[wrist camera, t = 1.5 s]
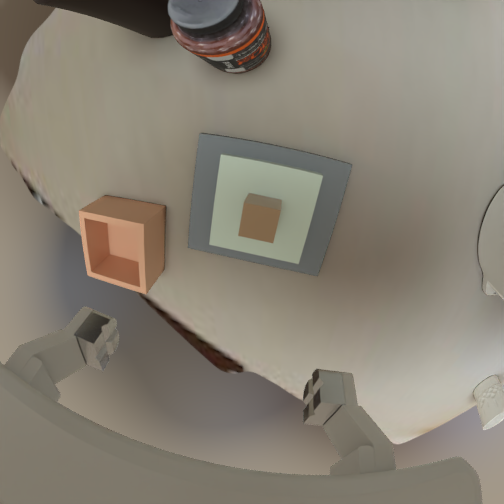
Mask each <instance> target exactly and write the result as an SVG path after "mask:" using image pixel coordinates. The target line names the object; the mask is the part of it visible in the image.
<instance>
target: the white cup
mask: <svg viewBox="0 0 504 504" xmlns="http://www.w3.org/2000/svg"><path fill="white" fill-rule="evenodd" d="M473 394H474V397H475V400H476V405H477V408H478V413H479V416H480V420H481V424H482V428H483V430H486V429H489V428H491V427H493V426H495V425H497V424H498V423H500V422H501V421H502V420H504V388H503V386H502V384H501V383H500V381H499V379H498V377H497V376H496V375H493V376H490V377H488V378H487V379H485V380H484V381H482V382H481V383H480V384H479V385H478V386H477V387H476V388H475V390H474V392H473Z"/></svg>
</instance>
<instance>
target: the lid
mask: <svg viewBox="0 0 504 504" xmlns="http://www.w3.org/2000/svg"><path fill="white" fill-rule="evenodd" d="M322 178H323V175H322V173H318V172H314V171H310V170H306V169H302V168H297V167H293V166H289V165H284V164H280V163H275V162H270V161H265V160H260V159H255V158H250V157H244V156H239V155H233V154H227V153H223V154H221V157H220V164H219V171H218V178H217V185H216V193H215V200H214V208H213V216H212V224H211V233H210V242H209V245H213V246H218V247H223V248H227V249H232V250H236V251H241V252H245V253H250V254H254V255H259V256H264V257H268V258H273V259H277V260H282V261H286V262H291V263H296V264H299V261H300V258H301V254H302V251H303V247H304V244H305V241H306V237H307V234H308V230H309V227H310V223H311V219H312V216H313V212H314V209H315V205H316V201H317V197H318V194H319V190H320V186H321V182H322Z"/></svg>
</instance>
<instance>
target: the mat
mask: <svg viewBox="0 0 504 504" xmlns="http://www.w3.org/2000/svg"><path fill="white" fill-rule="evenodd" d="M223 153H227V154H233V155H239V156H244V157H250V158H255V159H260V160H265V161H270V162H275V163H280V164H284V165H289V166H293V167H297V168H302V169H306V170H310V171H314V172H318V173H322V175H323V178H322V182H321V186H320V190H319V194H318V197H317V201H316V205H315V209H314V212H313V216H312V219H311V223H310V227H309V230H308V234H307V237H306V241H305V244H304V247H303V251H302V254H301V258H300V261H299V264H296V263H291V262H286V261H282V260H277V259H273V258H268V257H264V256H259V255H254V254H250V253H245V252H241V251H236V250H232V249H227V248H223V247H218V246H213V245H209V242H210V233H211V224H212V216H213V208H214V200H215V193H216V185H217V178H218V171H219V164H220V157H221V154H223ZM351 167H352V164H349V163H346V162H342V161H339V160H335V159H332V158H328V157H324V156H320V155H316V154H312V153H308V152H304V151H300V150H295V149H291V148H286V147H282V146H277V145H272V144H267V143H262V142H257V141H251V140H245V139H240V138H233V137H227V136H220V135H213V134H206V133H200V134H199V141H198V149H197V157H196V165H195V174H194V183H193V193H192V203H191V214H190V226H189V240H188V248H191V249H196V250H200V251H205V252H209V253H214V254H218V255H222V256H227V257H231V258H236V259H240V260H245V261H250V262H254V263H259V264H263V265H268V266H272V267H277V268H282V269H286V270H291V271H295V272H300V273H305V274H309V275H314V276H318V274H319V271H320V268H321V265H322V262H323V259H324V256H325V253H326V250H327V247H328V244H329V241H330V238H331V235H332V232H333V229H334V226H335V223H336V219H337V216H338V213H339V210H340V206H341V203H342V200H343V196H344V193H345V189H346V186H347V182H348V178H349V175H350V171H351Z"/></svg>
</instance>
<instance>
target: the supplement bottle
mask: <svg viewBox="0 0 504 504" xmlns="http://www.w3.org/2000/svg"><path fill="white" fill-rule="evenodd" d="M168 14H169V16H170V18H171V30H172V33H173V35H174V37H175V39H176V40H177V41H178V43H179V44H180V45H181V46H183V47H184V48H185V49H187V50H188V51H190V52H192V53H193V54H195V55H197V56H198V57H200V58H201V59H203V60H205V61H206V62H208V63H209V64H211V65H212V66H214V67H216V68H218V69H220V70H222V71H225V72H230V73H242V72H246V71H249V70H252V69H254V68H256V67H257V66H259V65H260V64H261V63H262V62H263V61H264V60H265V59H266V57H267V56H268V54H269V51H270V47H271V36H270V33H269V27H268V25H267V21H266V17H265V13H264V9H263V7H262V4H261V2H260V0H169V2H168Z"/></svg>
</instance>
